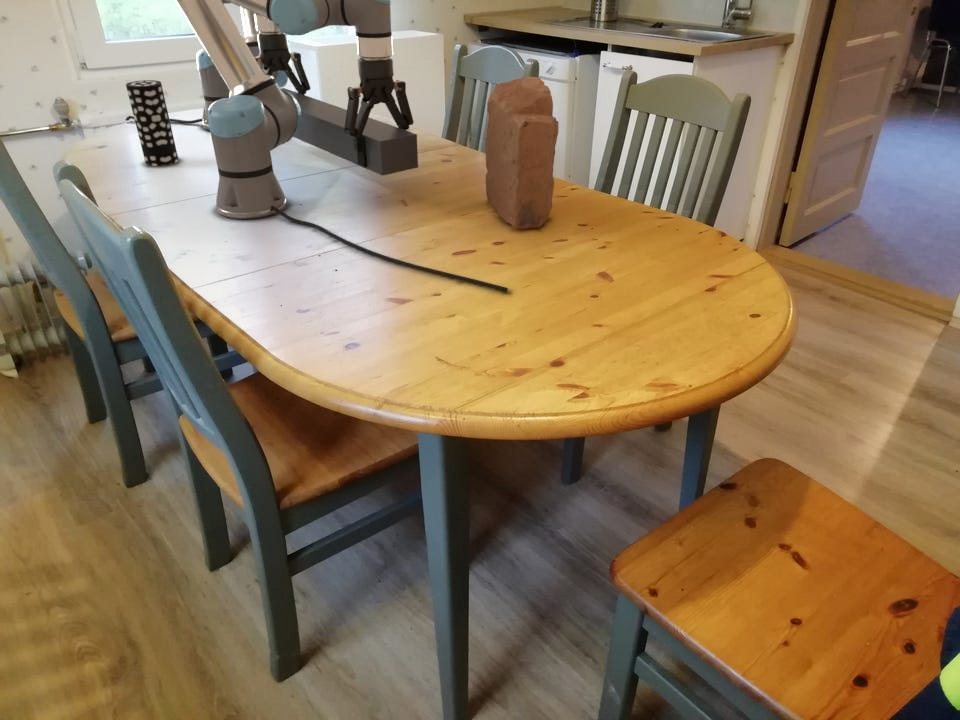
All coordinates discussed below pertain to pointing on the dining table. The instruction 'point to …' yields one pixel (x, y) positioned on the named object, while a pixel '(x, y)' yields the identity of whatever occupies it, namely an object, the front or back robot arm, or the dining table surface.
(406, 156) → the wide beam
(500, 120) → the stone
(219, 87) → the back robot arm
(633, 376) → the dining table surface
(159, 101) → the black white spotted cylinder
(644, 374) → the dining table surface
